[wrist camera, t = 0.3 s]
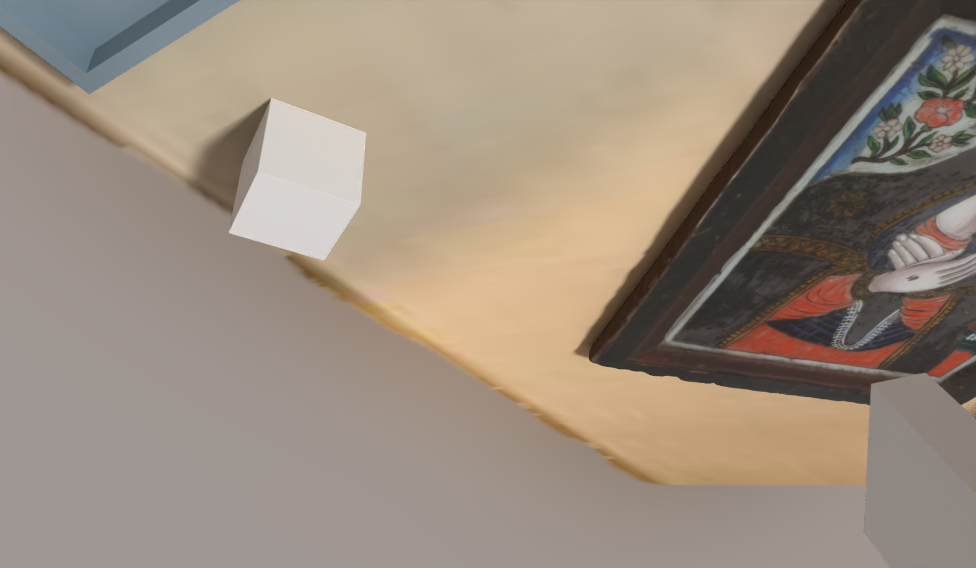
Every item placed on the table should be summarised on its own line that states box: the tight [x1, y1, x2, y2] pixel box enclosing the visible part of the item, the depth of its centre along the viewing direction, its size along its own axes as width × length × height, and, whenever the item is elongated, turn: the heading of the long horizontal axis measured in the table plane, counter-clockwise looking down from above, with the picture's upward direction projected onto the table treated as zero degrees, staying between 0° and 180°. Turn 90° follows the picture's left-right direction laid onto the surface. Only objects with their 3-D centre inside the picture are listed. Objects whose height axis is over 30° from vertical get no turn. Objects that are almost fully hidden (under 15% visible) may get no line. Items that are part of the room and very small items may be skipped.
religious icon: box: [589, 0, 976, 405], centre depth 59 cm, size 40×45×3 cm
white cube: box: [229, 98, 366, 260], centre depth 49 cm, size 6×6×6 cm
